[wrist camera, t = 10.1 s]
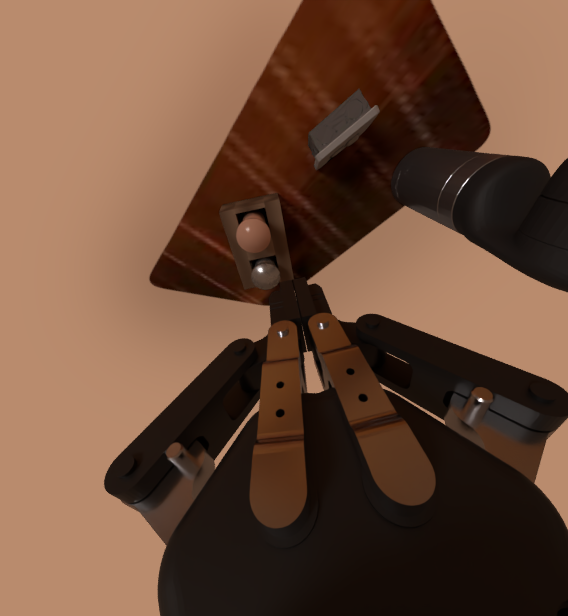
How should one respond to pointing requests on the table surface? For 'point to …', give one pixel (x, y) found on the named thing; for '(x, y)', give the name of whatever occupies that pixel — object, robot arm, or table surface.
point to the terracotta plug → (253, 232)
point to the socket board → (277, 231)
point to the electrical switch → (341, 128)
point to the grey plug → (265, 273)
